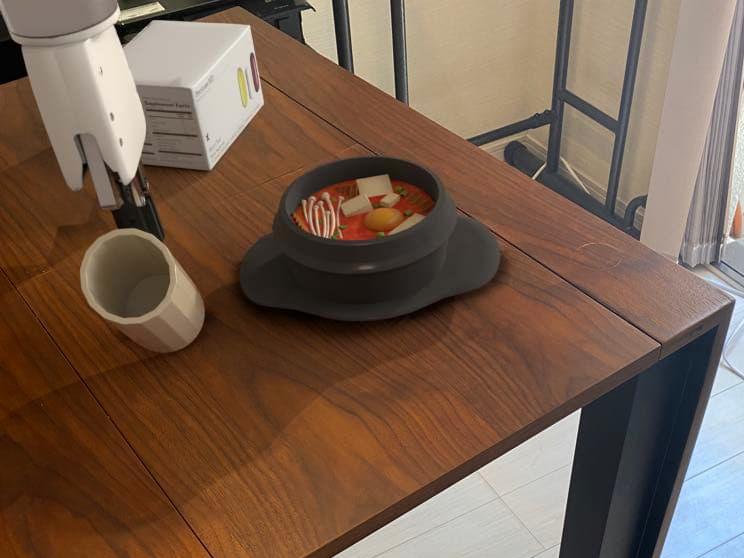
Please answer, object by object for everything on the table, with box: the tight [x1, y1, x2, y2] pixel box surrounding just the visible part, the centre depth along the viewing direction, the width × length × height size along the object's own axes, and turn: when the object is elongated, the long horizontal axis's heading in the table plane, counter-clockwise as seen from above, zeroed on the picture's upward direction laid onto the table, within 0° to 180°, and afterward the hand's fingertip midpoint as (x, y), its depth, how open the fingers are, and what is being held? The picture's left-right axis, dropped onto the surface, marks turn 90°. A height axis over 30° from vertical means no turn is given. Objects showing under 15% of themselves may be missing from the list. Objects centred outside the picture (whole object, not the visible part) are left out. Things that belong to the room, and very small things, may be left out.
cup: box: [79, 228, 206, 354], centre depth 71 cm, size 7×7×11 cm
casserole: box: [238, 155, 501, 322], centre depth 78 cm, size 25×19×8 cm
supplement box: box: [122, 19, 265, 172], centre depth 98 cm, size 17×13×9 cm
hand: (146, 243), depth 71 cm, fingers closed
